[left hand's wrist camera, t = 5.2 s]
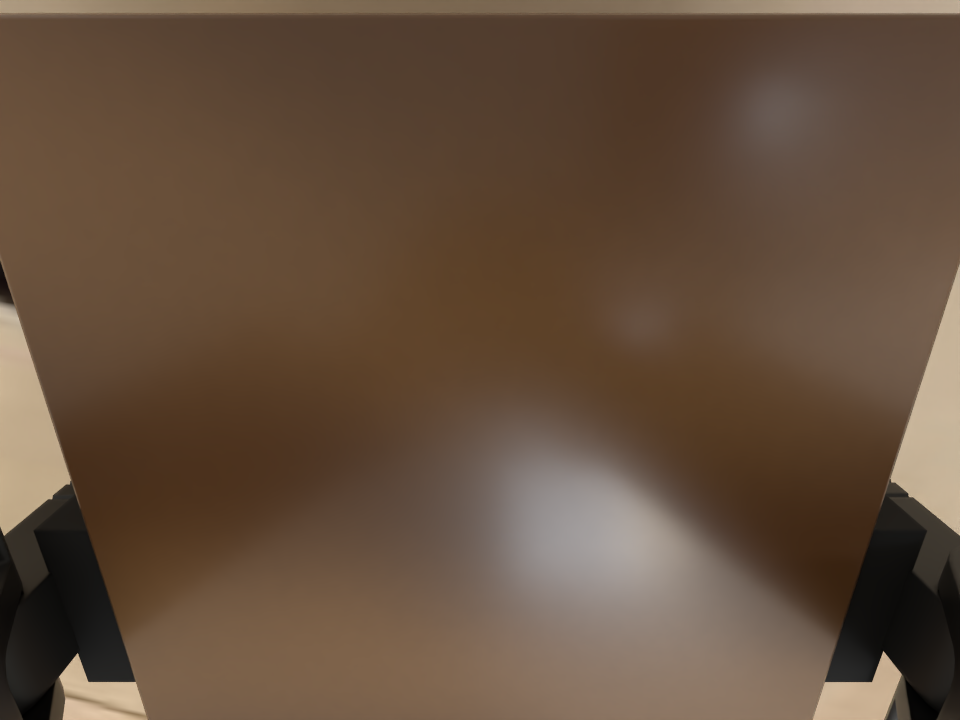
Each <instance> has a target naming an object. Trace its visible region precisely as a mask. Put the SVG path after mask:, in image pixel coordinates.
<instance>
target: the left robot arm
mask: <svg viewBox="0 0 960 720" xmlns="http://www.w3.org/2000/svg"><path fill="white" fill-rule="evenodd" d="M883 651H884V652H885V653H886V655H887V656H888V657H889V658H890V660H891V661H892V662H893V663H894V665H895V666H896V667H897V669H898V670H899V671H900V672H901V674H902V676H901V678H900V681H899V683H898V686H897V689H896V691H895V694H894V696H893V699H892V701H891V704H890V706H889V709H888V712H887V714H886V717H885V719H884V720H960V536H959V535H958V534H957V533H956V532H954V531H953V530H952V529H951V528H949V527H948V526H947V525H946V524H945V523H943V522H942V521H941V520H940V519H939V518H937V517H936V516H935V515H934V514H932V513H931V512H930V511H929V510H928V509H926V508H925V507H924V506H923V505H922V504H920V503H919V502H918V501H917V500H915V499H914V498H913V497H909V496H908V493H907V492H906V491H904V490H903V489H902V488H901V487H900V486H898V485H897V484H896V483H891V479H890V481H889V484H888V487H887V490H886V493H885V496H884V500H883V503H882V506H881V509H880V512H879V515H878V518H877V521H876V524H875V527H874V531H873V534H872V537H871V540H870V543H869V546H868V549H867V552H866V555H865V558H864V562H863V565H862V568H861V571H860V574H859V577H858V580H857V583H856V586H855V589H854V593H853V596H852V599H851V602H850V605H849V608H848V611H847V614H846V617H845V620H844V624H843V627H842V630H841V633H840V636H839V639H838V642H837V645H836V648H835V652H834V655H833V658H832V661H831V664H830V667H829V670H828V673H827V676H826V679H825V682H872V680H873V678H874V675H875V672H876V669H877V667H878V664H879V661H880V658H881V656H882V653H883ZM77 653H78V654H79V657H80V660H81V663H82V665H83V668H84V671H85V674H86V676H87V679H88V682H136V681H135V678H134V675H133V671H132V668H131V665H130V662H129V659H128V656H127V653H126V650H125V647H124V643H123V640H122V637H121V634H120V631H119V628H118V625H117V622H116V619H115V615H114V612H113V609H112V606H111V603H110V600H109V597H108V594H107V591H106V587H105V584H104V581H103V578H102V575H101V572H100V569H99V566H98V563H97V559H96V556H95V553H94V550H93V547H92V544H91V541H90V538H89V535H88V531H87V528H86V525H85V522H84V519H83V516H82V513H81V510H80V507H79V503H78V500H77V497H76V494H75V491H74V488H73V485H72V482H71V481H70V485H65V486H64V487H63V488H62V489H60V490H59V491H58V492H57V493H55V494H54V495H53V499H48V500H47V501H46V502H45V503H43V504H42V505H41V506H40V507H39V508H37V509H36V510H35V511H34V512H33V513H31V514H30V515H29V516H28V517H27V518H25V519H24V520H23V521H22V522H20V523H19V524H18V525H17V526H16V527H14V528H13V529H12V530H11V531H10V532H8V533H7V534H6V535H5V536H4V535H3V533H2V530H1V528H0V720H63V712H64V704H65V695H64V690H63V686H62V683H61V681H60V678H59V676H60V675H61V673H62V672H63V671H64V670H65V668H66V667H67V666H68V665H69V663H70V662H71V661H72V659H73V658H74V657H75V656H76V654H77Z"/></svg>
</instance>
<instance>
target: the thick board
mask: <svg viewBox="0 0 960 720" xmlns="http://www.w3.org/2000/svg"><path fill="white" fill-rule="evenodd" d="M0 261H1V264H2V267H3V270H4V273H5V276H6V279H7V283H8V286H9V289H10V292H11V295H12V298H13V301H14V304H15V307H16V311H17V314H18V317H19V320H20V323H21V326H22V329H23V332H24V335H25V339H26V342H27V345H28V348H29V351H30V354H31V357H32V360H33V363H34V367H35V370H36V373H37V376H38V379H39V382H40V385H41V388H42V391H43V395H44V398H45V401H46V404H47V407H48V410H49V413H50V416H51V419H52V423H53V426H54V429H55V432H56V435H57V438H58V441H59V444H60V447H61V451H62V454H63V457H64V460H65V463H66V466H67V469H68V472H69V475H70V479H71V482H72V485H73V488H74V491H75V494H76V497H77V500H78V503H79V507H80V510H81V513H82V516H83V519H84V522H85V525H86V528H87V531H88V535H89V538H90V541H91V544H92V547H93V550H94V553H95V556H96V559H97V563H98V566H99V569H100V572H101V575H102V578H103V581H104V584H105V587H106V591H107V594H108V597H109V600H110V603H111V606H112V609H113V612H114V615H115V619H116V622H117V625H118V628H119V631H120V634H121V637H122V640H123V643H124V647H125V650H126V653H127V656H128V659H129V662H130V665H131V668H132V671H133V675H134V678H135V681H136V684H137V687H138V690H139V693H140V696H141V699H142V703H143V706H144V709H145V712H146V715H147V718H148V720H813V717H814V714H815V710H816V707H817V704H818V701H819V698H820V695H821V692H822V689H823V686H824V683H825V679H826V676H827V673H828V670H829V667H830V664H831V661H832V658H833V655H834V652H835V648H836V645H837V642H838V639H839V636H840V633H841V630H842V627H843V624H844V620H845V617H846V614H847V611H848V608H849V605H850V602H851V599H852V596H853V593H854V589H855V586H856V583H857V580H858V577H859V574H860V571H861V568H862V565H863V562H864V558H865V555H866V552H867V549H868V546H869V543H870V540H871V537H872V534H873V531H874V527H875V524H876V521H877V518H878V515H879V512H880V509H881V506H882V503H883V500H884V496H885V493H886V490H887V487H888V484H889V481H890V478H891V475H892V472H893V468H894V465H895V462H896V459H897V456H898V453H899V450H900V447H901V444H902V441H903V437H904V434H905V431H906V428H907V425H908V422H909V419H910V416H911V413H912V410H913V406H914V403H915V400H916V397H917V394H918V391H919V388H920V385H921V382H922V379H923V375H924V372H925V369H926V366H927V363H928V360H929V357H930V354H931V351H932V347H933V344H934V341H935V338H936V335H937V332H938V329H939V326H940V323H941V320H942V316H943V313H944V310H945V307H946V304H947V301H948V298H949V295H950V292H951V289H952V285H953V282H954V279H955V276H956V273H957V270H958V267H959V264H960V13H0Z"/></svg>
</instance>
